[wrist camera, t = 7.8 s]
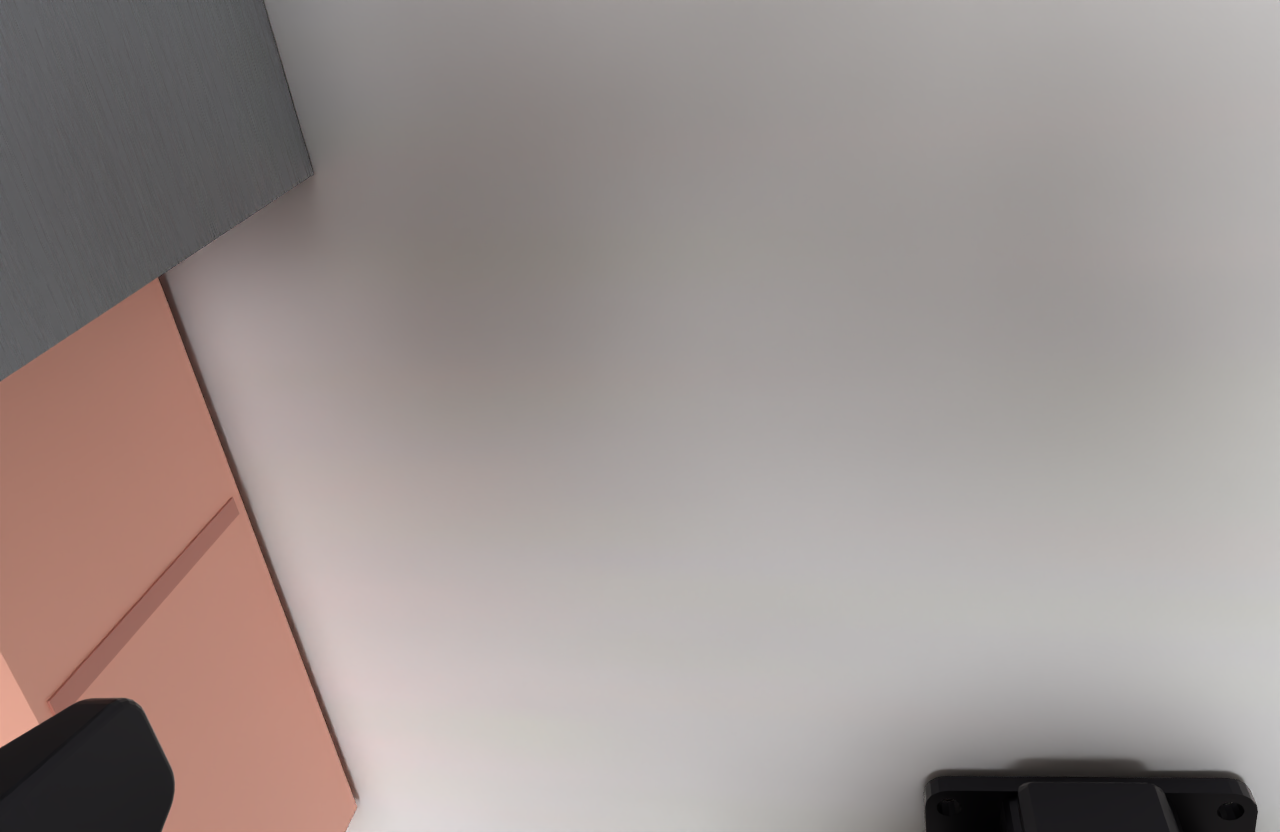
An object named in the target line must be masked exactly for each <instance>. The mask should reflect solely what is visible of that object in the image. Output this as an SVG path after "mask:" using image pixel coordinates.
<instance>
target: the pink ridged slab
mask: <svg viewBox="0 0 1280 832" xmlns="http://www.w3.org/2000/svg"><path fill="white" fill-rule="evenodd" d="M90 698H128V699H132V700H134V701H135V702H136V703H138V704H139V705H140V706H141V707H142V708H143V710H144V712H145V713H146V715H147V718H148V720H149V722H150V724H151V726H152V728H153V730H154V732H155V734H156V736H157V738H158V740H159V742H160V744H161V747H162V749H163V751H164V753H165V755H166V757H167V759H168V761H169V763H170V765H171V767H172V770H173V773H174V779H175V793H174V799H173V803H172V806H171V809H170V811H169V814H168V817H167V819H166V822H165V824H164V827H163V830H162V832H345V831H346V829H347V827H348V825H349V823H350V821H351V819H352V817H353V815H354V813H355V811H356V809H357V805H356V802H355V800H354V797H353V794H352V792H351V789H350V786H349V784H348V781H347V778H346V776H345V773H344V770H343V768H342V765H341V762H340V760H339V757H338V754H337V752H336V749H335V746H334V744H333V741H332V739H331V736H330V733H329V731H328V728H327V725H326V723H325V720H324V717H323V715H322V712H321V709H320V707H319V704H318V701H317V699H316V696H315V693H314V691H313V688H312V685H311V683H310V680H309V677H308V675H307V672H306V669H305V667H304V664H303V661H302V659H301V656H300V653H299V651H298V648H297V645H296V643H295V640H294V637H293V635H292V632H291V629H290V627H289V624H288V621H287V619H286V616H285V613H284V611H283V608H282V606H281V603H280V600H279V598H278V595H277V592H276V590H275V587H274V584H273V582H272V579H271V576H270V574H269V571H268V568H267V566H266V563H265V560H264V558H263V555H262V552H261V550H260V547H259V544H258V542H257V539H256V536H255V534H254V531H253V528H252V526H251V523H250V520H249V518H248V515H247V512H246V510H245V507H244V504H243V502H242V499H241V496H240V494H239V491H238V488H237V486H236V483H235V480H234V478H233V475H232V473H231V470H230V467H229V465H228V462H227V459H226V457H225V454H224V451H223V449H222V446H221V443H220V441H219V438H218V435H217V433H216V430H215V427H214V425H213V422H212V419H211V417H210V414H209V411H208V409H207V406H206V403H205V401H204V398H203V395H202V393H201V390H200V387H199V385H198V382H197V379H196V377H195V374H194V371H193V369H192V366H191V363H190V361H189V358H188V355H187V353H186V350H185V347H184V345H183V342H182V340H181V337H180V334H179V332H178V329H177V326H176V324H175V321H174V318H173V316H172V313H171V310H170V308H169V305H168V302H167V300H166V297H165V294H164V292H163V289H162V286H161V284H160V281H159V278H158V277H157V278H156V279H154V280H153V281H151V282H150V283H148V284H147V285H145V286H144V287H142V288H141V289H139V290H138V291H136V292H135V293H133V294H132V295H130V296H129V297H127V298H126V299H124V300H123V301H121V302H120V303H118V304H117V305H115V306H114V307H112V308H111V309H109V310H108V311H106V312H105V313H103V314H102V315H100V316H99V317H97V318H96V319H94V320H93V321H91V322H89V323H88V324H86V325H85V326H83V327H82V328H80V329H79V330H77V331H76V332H74V333H73V334H71V335H70V336H68V337H67V338H65V339H64V340H62V341H61V342H59V343H58V344H56V345H55V346H53V347H52V348H50V349H49V350H47V351H46V352H44V353H43V354H41V355H40V356H38V357H37V358H35V359H34V360H32V361H31V362H29V363H28V364H26V365H25V366H23V367H22V368H20V369H18V370H17V371H15V372H14V373H12V374H11V375H9V376H8V377H6V378H5V379H3V380H2V381H0V748H1V747H2V746H4V745H6V744H7V743H9V742H11V741H12V740H14V739H16V738H17V737H19V736H21V735H22V734H24V733H26V732H27V731H29V730H30V729H32V728H34V727H35V726H37V725H39V724H40V723H42V722H44V721H45V720H47V719H49V718H50V717H52V716H54V715H55V714H57V713H59V712H60V711H62V710H64V709H65V708H67V707H69V706H70V705H72V704H74V703H76V702H78V701H81V700H84V699H90Z"/></svg>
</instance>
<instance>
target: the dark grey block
mask: <svg viewBox="0 0 1280 832" xmlns="http://www.w3.org/2000/svg"><path fill="white" fill-rule="evenodd" d="M312 175H313V171H312V167H311V164H310V160H309V157H308V154H307V150H306V147H305V143H304V140H303V137H302V133H301V130H300V126H299V123H298V120H297V116H296V113H295V109H294V106H293V102H292V99H291V96H290V92H289V89H288V85H287V82H286V79H285V75H284V72H283V68H282V65H281V62H280V58H279V55H278V51H277V48H276V45H275V41H274V38H273V34H272V31H271V28H270V24H269V21H268V17H267V14H266V11H265V7H264V4H263V0H0V381H2V380H3V379H5V378H6V377H8V376H9V375H11V374H12V373H14V372H15V371H17V370H18V369H20V368H22V367H23V366H25V365H26V364H28V363H29V362H31V361H32V360H34V359H35V358H37V357H38V356H40V355H41V354H43V353H44V352H46V351H47V350H49V349H50V348H52V347H53V346H55V345H56V344H58V343H59V342H61V341H62V340H64V339H65V338H67V337H68V336H70V335H71V334H73V333H74V332H76V331H77V330H79V329H80V328H82V327H83V326H85V325H86V324H88V323H89V322H91V321H93V320H94V319H96V318H97V317H99V316H100V315H102V314H103V313H105V312H106V311H108V310H109V309H111V308H112V307H114V306H115V305H117V304H118V303H120V302H121V301H123V300H124V299H126V298H127V297H129V296H130V295H132V294H133V293H135V292H136V291H138V290H139V289H141V288H142V287H144V286H145V285H147V284H148V283H150V282H151V281H153V280H154V279H156V278H157V277H159V276H160V275H162V274H163V273H165V272H167V271H168V270H170V269H171V268H173V267H174V266H176V265H177V264H179V263H180V262H182V261H183V260H185V259H186V258H188V257H189V256H191V255H192V254H194V253H195V252H197V251H198V250H200V249H201V248H203V247H204V246H206V245H207V244H209V243H210V242H212V241H213V240H215V239H216V238H218V237H219V236H221V235H222V234H224V233H225V232H227V231H228V230H230V229H231V228H233V227H234V226H236V225H237V224H239V223H241V222H242V221H244V220H245V219H247V218H248V217H250V216H251V215H253V214H254V213H256V212H257V211H259V210H260V209H262V208H263V207H265V206H266V205H268V204H269V203H271V202H272V201H274V200H275V199H277V198H278V197H280V196H281V195H283V194H284V193H286V192H287V191H289V190H290V189H292V188H293V187H295V186H296V185H298V184H299V183H301V182H302V181H304V180H305V179H307V178H308V177H310V176H312Z"/></svg>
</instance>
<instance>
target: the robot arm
mask: <svg viewBox="0 0 1280 832" xmlns="http://www.w3.org/2000/svg"><path fill="white" fill-rule="evenodd" d="M174 793H175V779H174V773H173V770H172V767H171V765H170V763H169V761H168V759H167V757H166V755H165V753H164V751H163V749H162V747H161V744H160V742H159V740H158V738H157V736H156V734H155V732H154V730H153V728H152V726H151V724H150V722H149V720H148V718H147V715H146V713H145V712H144V710H143V708H142V707H141V706H140V705H139V704H138V703H136V702H135V701H134V700H132V699H128V698H90V699H84V700H81V701H78V702H76V703H74V704H72V705H70V706H69V707H67V708H65V709H64V710H62V711H60V712H59V713H57V714H55V715H54V716H52V717H50V718H49V719H47V720H45V721H44V722H42V723H40V724H39V725H37V726H35V727H34V728H32V729H30V730H29V731H27V732H26V733H24V734H22V735H21V736H19V737H17V738H16V739H14V740H12V741H11V742H9V743H7V744H6V745H4V746H2V747H1V748H0V832H162V830H163V827H164V824H165V822H166V819H167V817H168V814H169V811H170V809H171V806H172V803H173V799H174ZM945 799H952V800H954V801H949V802H946V801H942V800H945ZM1229 802H1233V803H1231V804H1227V805H1223V804H1224V803H1229ZM924 812H925V832H1255V827H1256V820H1257V813H1258V811H1257V805H1256V802H1255V800H1254V798H1253V795H1252V793H1251V791H1250V789H1249V788H1248V787H1247V785H1246V784H1245V783H1243V782H1240V781H1238V780H1235V779H1228V778H1122V777H986V776H945V777H938V778H935V779H933V780H931V781H930V782H929V783H928V784H927V785H926V786H925V789H924Z"/></svg>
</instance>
